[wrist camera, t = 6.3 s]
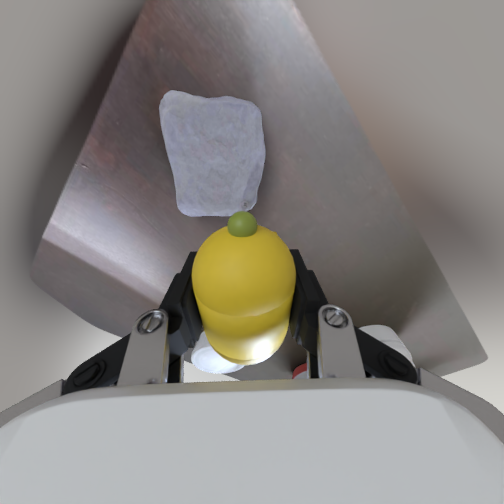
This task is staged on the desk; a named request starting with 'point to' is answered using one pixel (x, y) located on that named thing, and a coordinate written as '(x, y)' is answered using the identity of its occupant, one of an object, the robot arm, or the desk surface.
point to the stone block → (213, 152)
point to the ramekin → (211, 358)
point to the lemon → (244, 290)
